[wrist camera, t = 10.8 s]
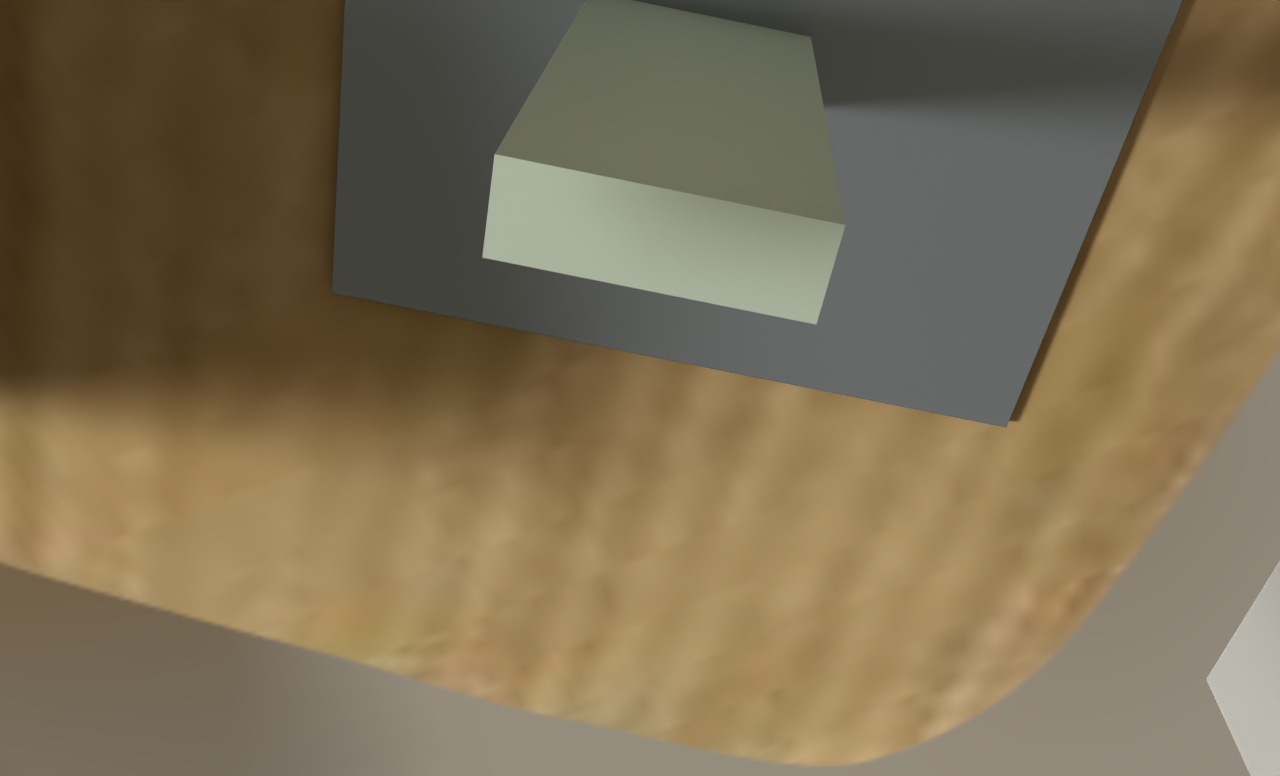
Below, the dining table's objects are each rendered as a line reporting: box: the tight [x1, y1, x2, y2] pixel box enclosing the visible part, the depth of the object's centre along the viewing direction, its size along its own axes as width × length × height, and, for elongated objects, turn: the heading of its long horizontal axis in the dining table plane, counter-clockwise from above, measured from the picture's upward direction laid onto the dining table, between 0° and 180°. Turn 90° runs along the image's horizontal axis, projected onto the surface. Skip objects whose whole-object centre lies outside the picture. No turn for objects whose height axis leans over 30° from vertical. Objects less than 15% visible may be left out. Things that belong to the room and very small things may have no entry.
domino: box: [482, 0, 845, 324], centre depth 21 cm, size 2×5×11 cm, turn 80°
